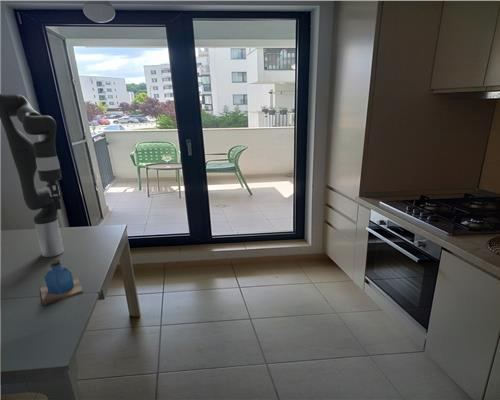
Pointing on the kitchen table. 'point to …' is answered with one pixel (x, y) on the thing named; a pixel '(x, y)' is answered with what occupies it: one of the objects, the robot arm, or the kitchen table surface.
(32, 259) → the kitchen table surface
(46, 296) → the walnut board
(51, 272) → the perfume bottle
